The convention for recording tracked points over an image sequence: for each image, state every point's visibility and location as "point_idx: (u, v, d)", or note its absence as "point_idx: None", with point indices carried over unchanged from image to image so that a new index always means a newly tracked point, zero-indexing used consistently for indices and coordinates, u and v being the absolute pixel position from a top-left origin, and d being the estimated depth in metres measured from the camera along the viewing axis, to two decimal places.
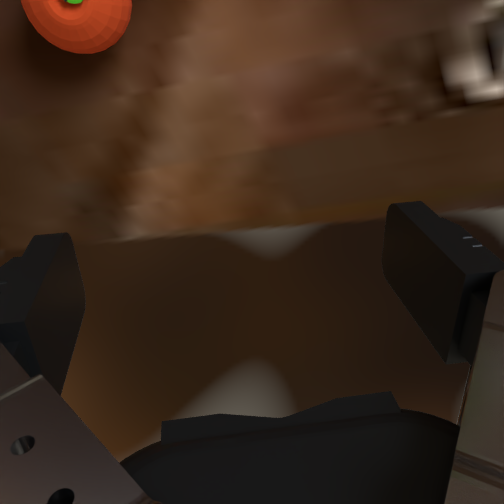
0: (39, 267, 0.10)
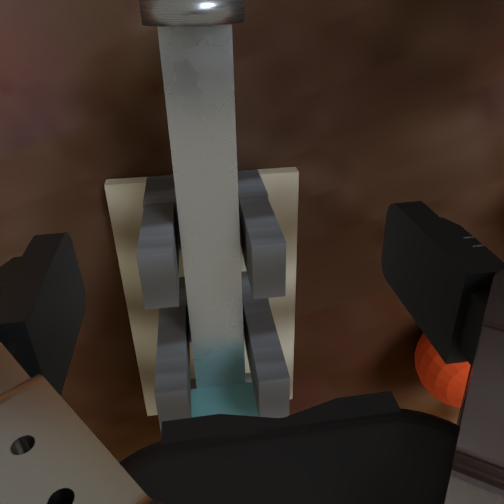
0: (39, 267, 0.10)
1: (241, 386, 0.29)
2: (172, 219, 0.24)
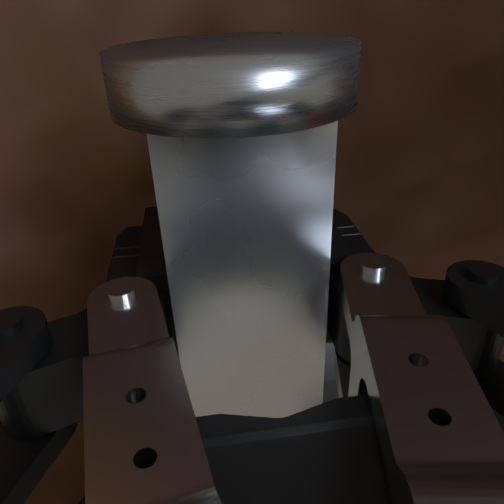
0: None
1: None
2: None
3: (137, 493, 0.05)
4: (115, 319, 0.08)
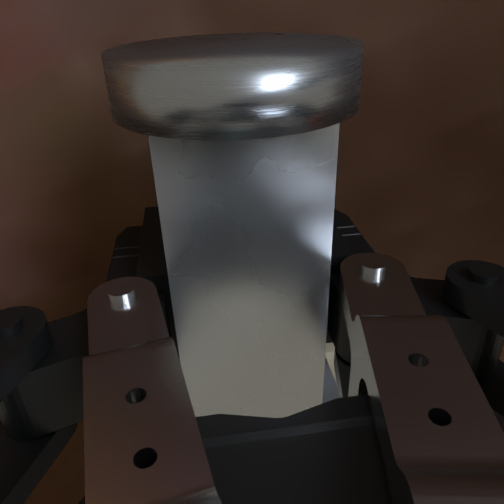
0: None
1: None
2: None
3: (137, 492, 0.05)
4: (115, 319, 0.08)
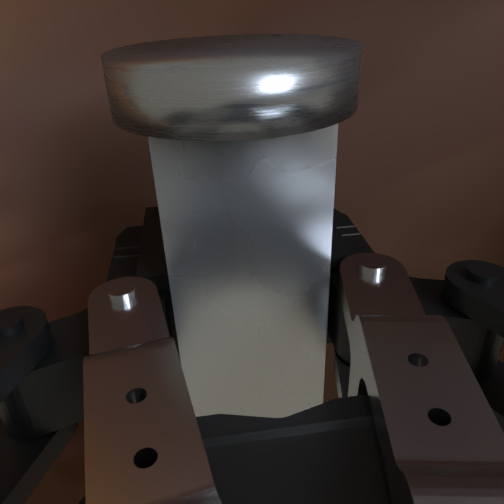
0: None
1: None
2: None
3: (138, 493, 0.05)
4: (116, 319, 0.08)
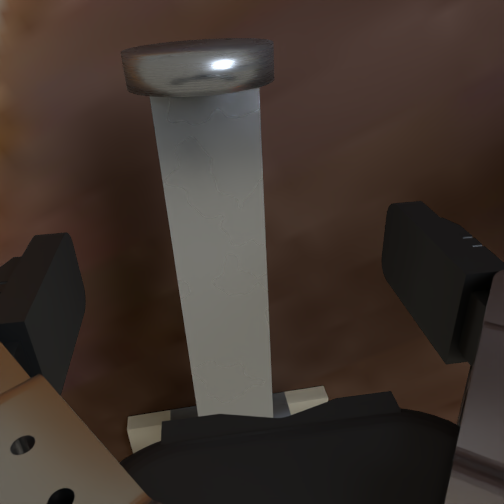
0: (39, 267, 0.10)
1: None
2: None
3: None
4: None
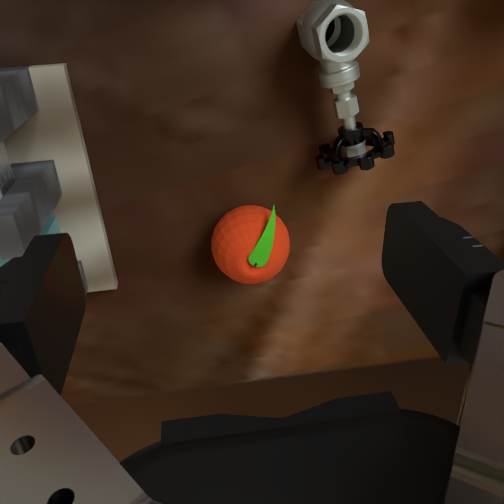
0: (39, 267, 0.10)
1: None
2: None
3: None
4: None
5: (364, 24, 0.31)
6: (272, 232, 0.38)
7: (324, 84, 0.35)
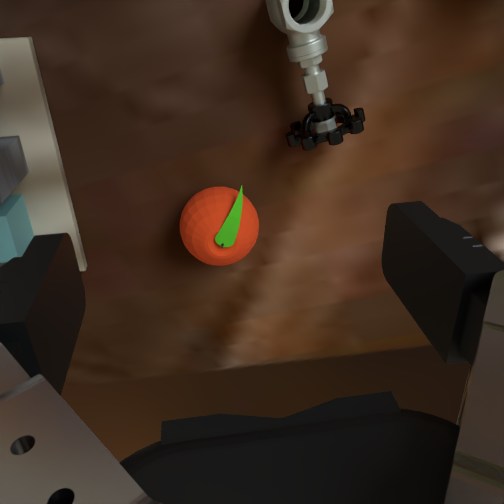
0: (39, 267, 0.10)
1: None
2: None
3: None
4: None
5: None
6: (239, 212, 0.38)
7: (291, 58, 0.35)
